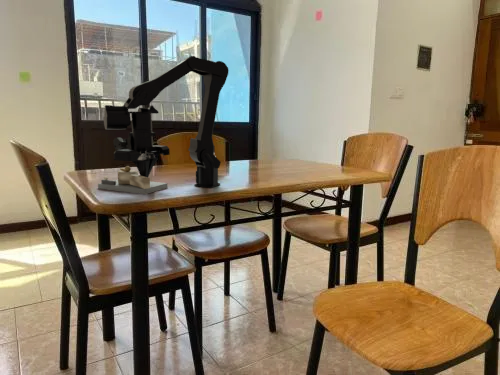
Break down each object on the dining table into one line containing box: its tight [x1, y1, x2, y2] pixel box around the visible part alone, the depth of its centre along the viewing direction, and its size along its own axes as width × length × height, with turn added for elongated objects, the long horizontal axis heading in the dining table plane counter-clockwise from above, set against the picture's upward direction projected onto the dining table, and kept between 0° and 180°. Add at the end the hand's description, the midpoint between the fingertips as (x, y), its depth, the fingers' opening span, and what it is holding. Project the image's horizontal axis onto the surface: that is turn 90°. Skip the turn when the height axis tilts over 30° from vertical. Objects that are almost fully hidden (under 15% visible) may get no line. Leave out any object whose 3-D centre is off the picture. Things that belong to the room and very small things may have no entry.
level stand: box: [97, 175, 169, 195], centre depth 119 cm, size 18×11×4 cm, turn 66°
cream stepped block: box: [117, 165, 151, 189], centre depth 115 cm, size 16×6×5 cm, turn 43°
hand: (144, 181), depth 116 cm, fingers closed
